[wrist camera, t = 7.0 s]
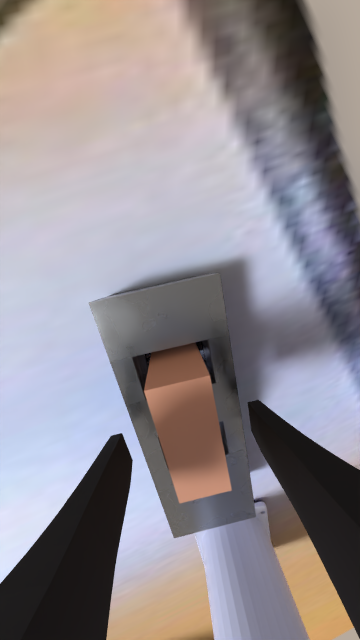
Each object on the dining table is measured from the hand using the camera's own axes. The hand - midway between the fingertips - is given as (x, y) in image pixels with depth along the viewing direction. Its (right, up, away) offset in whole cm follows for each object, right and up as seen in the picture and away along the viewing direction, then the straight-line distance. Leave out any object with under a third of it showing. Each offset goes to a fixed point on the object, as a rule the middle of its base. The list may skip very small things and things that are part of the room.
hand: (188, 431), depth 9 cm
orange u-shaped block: (0, +1, +4) cm, 5 cm away
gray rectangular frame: (0, -1, +5) cm, 5 cm away
